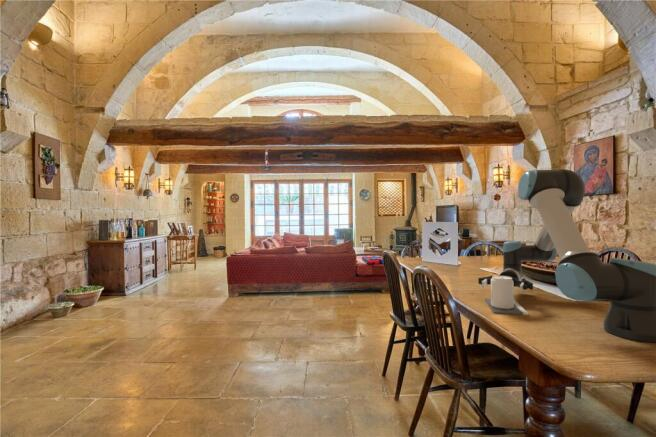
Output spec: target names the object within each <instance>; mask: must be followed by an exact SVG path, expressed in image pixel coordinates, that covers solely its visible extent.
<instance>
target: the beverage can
mask: <svg viewBox="0 0 656 437" xmlns="http://www.w3.org/2000/svg"><path fill="white" fill-rule="evenodd" d="M514 287H515V286H514V282H513V280H512V278H511V277H508V276H499V275H492V279H491V284H490V299H491V305H492V306H494V307H495V308H498V309H511V308H513V307H514V300H515V298H514V297H515V295H514V292H515V291H514Z"/></svg>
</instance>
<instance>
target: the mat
mask: <svg viewBox="0 0 656 437" xmlns="http://www.w3.org/2000/svg"><path fill="white" fill-rule="evenodd" d="M484 301H485V302H486V304H487V305H488V306H489V308H490V310H491V311H492V312H493V314H504V315H517V316H529V312H528V311H527V310H526V309H525V308H524V307H523V306H522V305H521V304H520V303H519V302H518V301H517V300H516V299H514V307H513V308H511V309H498V308H495V307H494V306H492V305H491V298H484Z"/></svg>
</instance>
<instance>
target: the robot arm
mask: <svg viewBox="0 0 656 437" xmlns="http://www.w3.org/2000/svg"><path fill="white" fill-rule="evenodd" d="M517 193H518V197H519V198H520V200H523V201H528V202H529V204H530V206H531V207H532V208H534V209H535V210H537V211H538V213H539V215H540V218H541V220H542V223H543V225H542V226H541V228H540V231H539V232H538V235H537V237H536V240H535V242H534V244H529V245H528V244H527V245H526V244H522V241H519V240H507V241H504V242H503V248H502V255H503V256H502V257H503V262H502V263H503V265H502V266H503V270H502V271H501V272H500V273H499V275H498V276H508V277H511V278H512V280H513V282H514V287H518V288H519V293H521V294H522V293H524V291H526V290H528V289H529V290H531V291H532V290H534V282H531V281H529V280H527V279H526V278H525V277H524V278H523V271H522V270H523V269H522V262H552V261H554V260H555V259H556V258H557V255H558V257H559V261H558V262H557V267H556V268H555V272H554V275H555V282H556V285H557V288H558V289H559V291H560V292H561V293H562V294H563V295H564V296H566V298H568V299H571V300H574V301H583V302H590V301H591V302H592V301H600V302H601V301H604V302H605V301H606V302H607V301H609V303H610V304H609V308H608V311H607V313H606V315H605V316H604V317H605V318H604V319H603V323H602V327H603V330H604V331H605V332H607V333H609V334H612V335H615V336H617V337H621V338H623V339H629V340H633V341H640V342H648V343H656V264H655V263H653V262H652V263H651V262H646V261H641V260H633V259H625V258H618V257H613V258H612V257H611V258H609V259H610V260H609V261H608V262H603V261H602V259H601V257H600V255H599V254H598V253H596V252H594V251H591V250H590V248H589V247H588V245H587V243H586V241H585V239H584V237H583V236H582V233H581V232H580V230H579V228H578V226H577V224H576V223H575V221H574V219H573V217H572V214H573V212H574V211H575V209H576V208H577V207H579V206H580V205H581V203H582V202H583V200H584V197H585V195H586V194H585V193H586V187H585V182H584V179H583V178H582V177H581V176H580V174H578V173H577V172H575V171H574V170H571V169H564V168H563V169H562V168H561V169H533V170H527V171H525V172H523V174H522V175H521V176H520V178H519V181H518V188H517ZM492 276H493V275H491V274H490V275H489V276H483V277H478V282H477V283H478V285H481V289H485V288H486V287H487V286H488V285H491V279H492Z"/></svg>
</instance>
